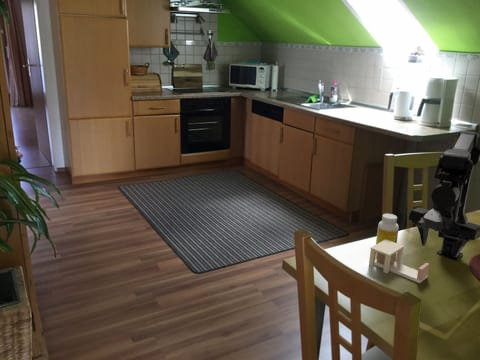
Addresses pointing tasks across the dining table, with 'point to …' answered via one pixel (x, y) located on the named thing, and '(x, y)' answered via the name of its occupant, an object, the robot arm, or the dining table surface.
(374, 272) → the dining table surface
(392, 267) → the sled
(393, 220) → the supplement bottle
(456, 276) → the dining table surface
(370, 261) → the small table
